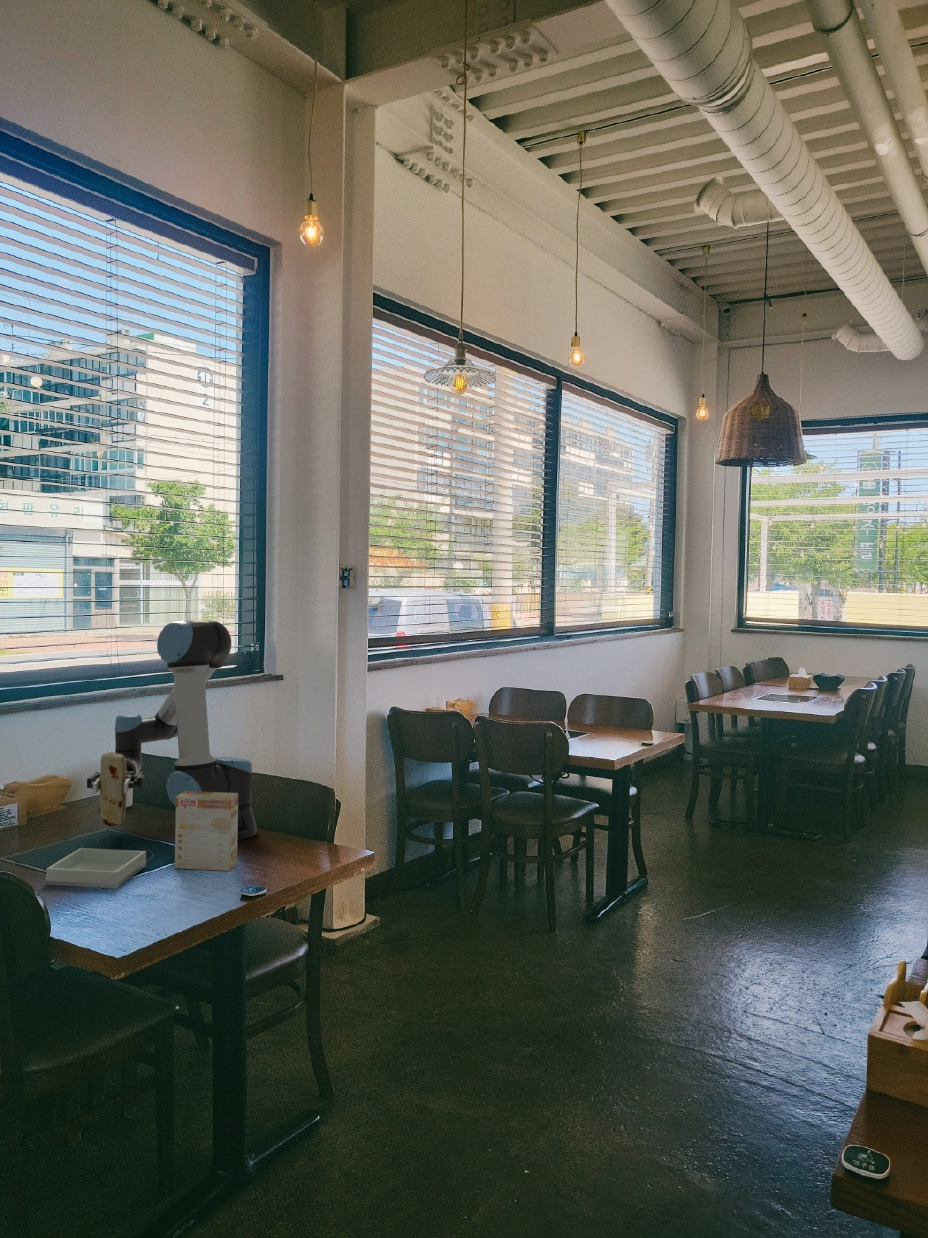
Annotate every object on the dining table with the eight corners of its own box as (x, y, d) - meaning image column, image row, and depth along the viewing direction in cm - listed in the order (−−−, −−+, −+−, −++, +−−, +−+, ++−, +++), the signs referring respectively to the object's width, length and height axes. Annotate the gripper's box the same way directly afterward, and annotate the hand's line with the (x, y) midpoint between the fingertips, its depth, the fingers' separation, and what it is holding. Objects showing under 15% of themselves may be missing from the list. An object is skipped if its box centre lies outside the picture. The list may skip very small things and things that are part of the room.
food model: (94, 822, 260) (94, 751, 260) (118, 819, 264) (119, 748, 264) (106, 830, 253) (106, 756, 252) (130, 826, 257) (131, 754, 256)
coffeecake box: (237, 863, 253) (239, 792, 253) (229, 872, 246) (230, 798, 245) (183, 861, 254) (184, 790, 253) (173, 869, 247) (175, 796, 246)
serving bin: (145, 866, 249) (146, 851, 249) (116, 888, 231) (116, 872, 231) (80, 862, 250) (80, 848, 250) (45, 884, 232) (46, 868, 232)
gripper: (158, 783, 278) (148, 801, 256) (86, 785, 274) (70, 803, 251) (158, 758, 278) (148, 774, 255) (86, 759, 274) (70, 775, 251)
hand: (109, 788), depth 253 cm, fingers closed on food model, 7 cm apart
